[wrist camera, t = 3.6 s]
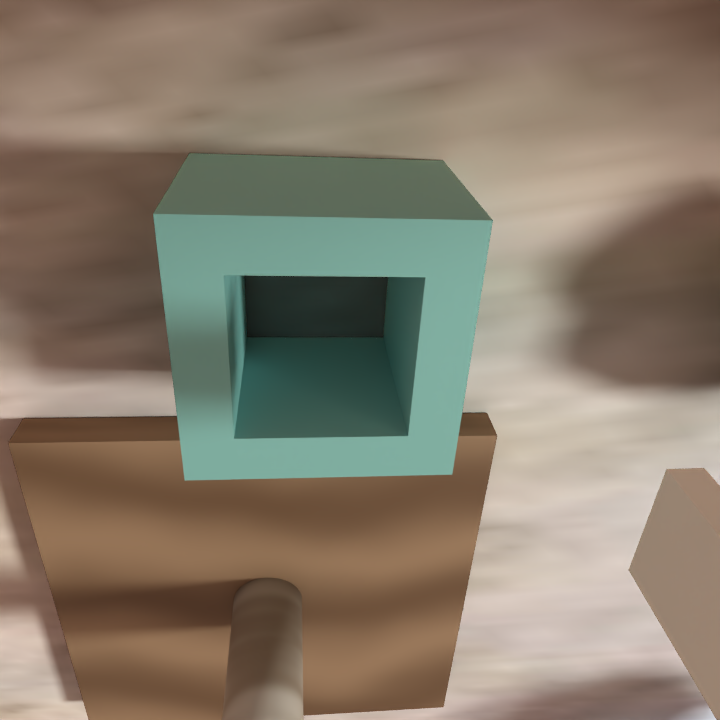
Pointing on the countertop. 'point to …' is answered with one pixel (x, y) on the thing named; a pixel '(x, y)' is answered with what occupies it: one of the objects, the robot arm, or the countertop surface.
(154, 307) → the countertop surface
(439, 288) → the bead
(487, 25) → the countertop surface
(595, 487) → the countertop surface
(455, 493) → the post board
